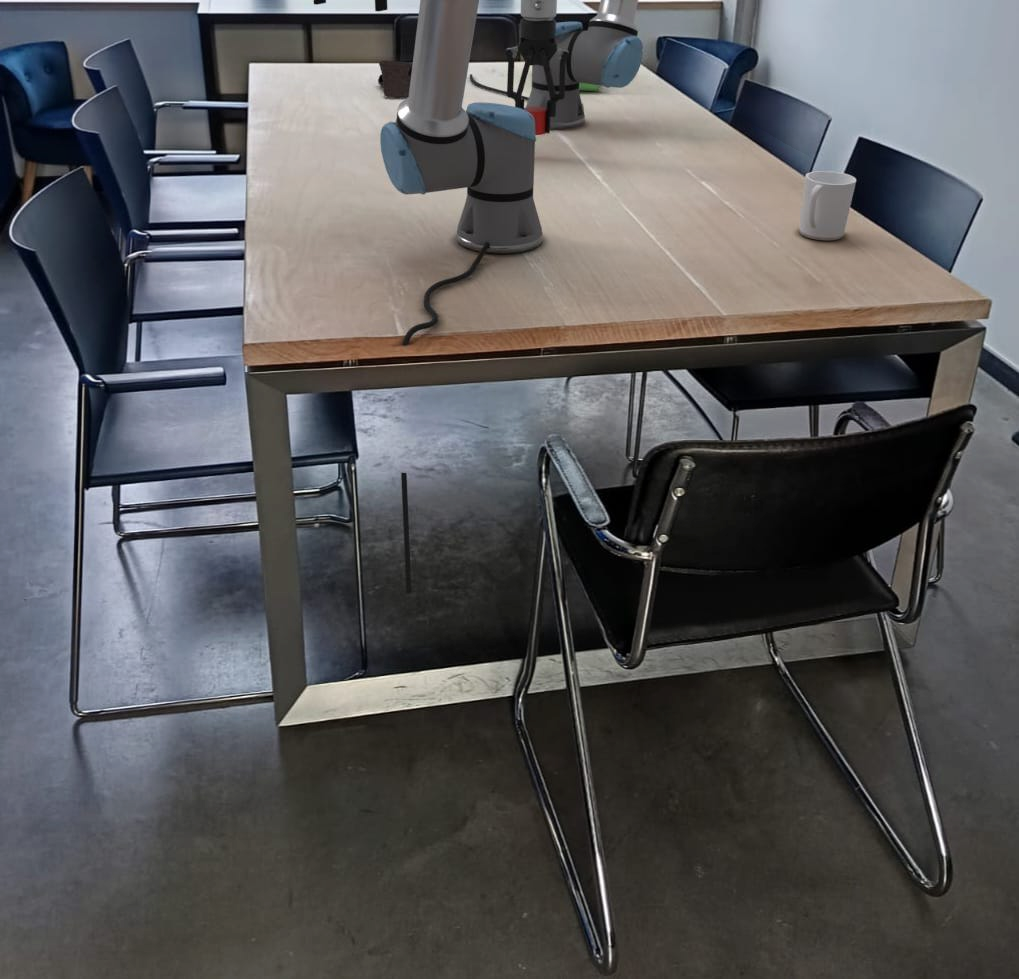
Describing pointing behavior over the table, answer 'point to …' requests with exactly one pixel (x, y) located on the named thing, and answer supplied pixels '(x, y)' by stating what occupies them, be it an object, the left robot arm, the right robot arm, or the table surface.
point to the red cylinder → (538, 119)
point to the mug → (826, 204)
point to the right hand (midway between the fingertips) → (534, 131)
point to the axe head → (395, 78)
